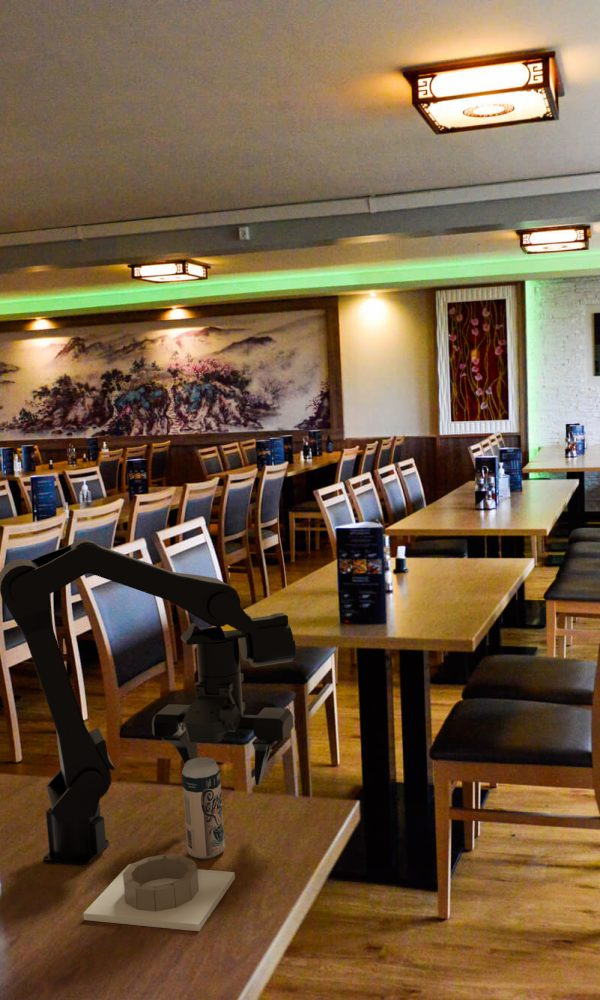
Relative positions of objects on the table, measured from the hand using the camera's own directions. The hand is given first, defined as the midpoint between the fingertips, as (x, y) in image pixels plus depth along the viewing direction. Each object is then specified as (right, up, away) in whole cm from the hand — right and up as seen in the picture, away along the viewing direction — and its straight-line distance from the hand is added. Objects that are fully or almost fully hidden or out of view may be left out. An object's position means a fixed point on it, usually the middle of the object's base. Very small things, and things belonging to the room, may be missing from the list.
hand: (226, 782), depth 134 cm
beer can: (-2, -7, -8) cm, 11 cm away
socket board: (-6, -8, -19) cm, 22 cm away
